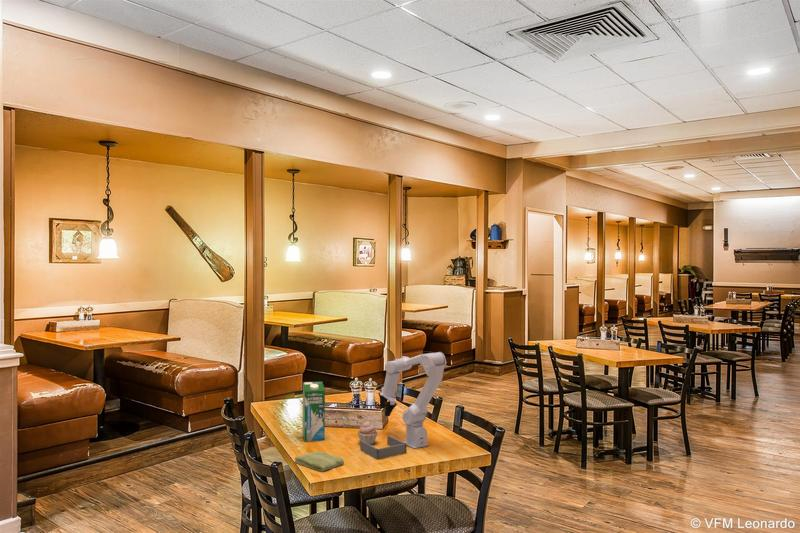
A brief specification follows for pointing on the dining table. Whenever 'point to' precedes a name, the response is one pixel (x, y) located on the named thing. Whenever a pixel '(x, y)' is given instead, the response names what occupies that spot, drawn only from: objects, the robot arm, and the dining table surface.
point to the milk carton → (313, 411)
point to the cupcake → (367, 433)
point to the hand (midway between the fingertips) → (384, 411)
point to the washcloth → (319, 461)
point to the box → (393, 449)
